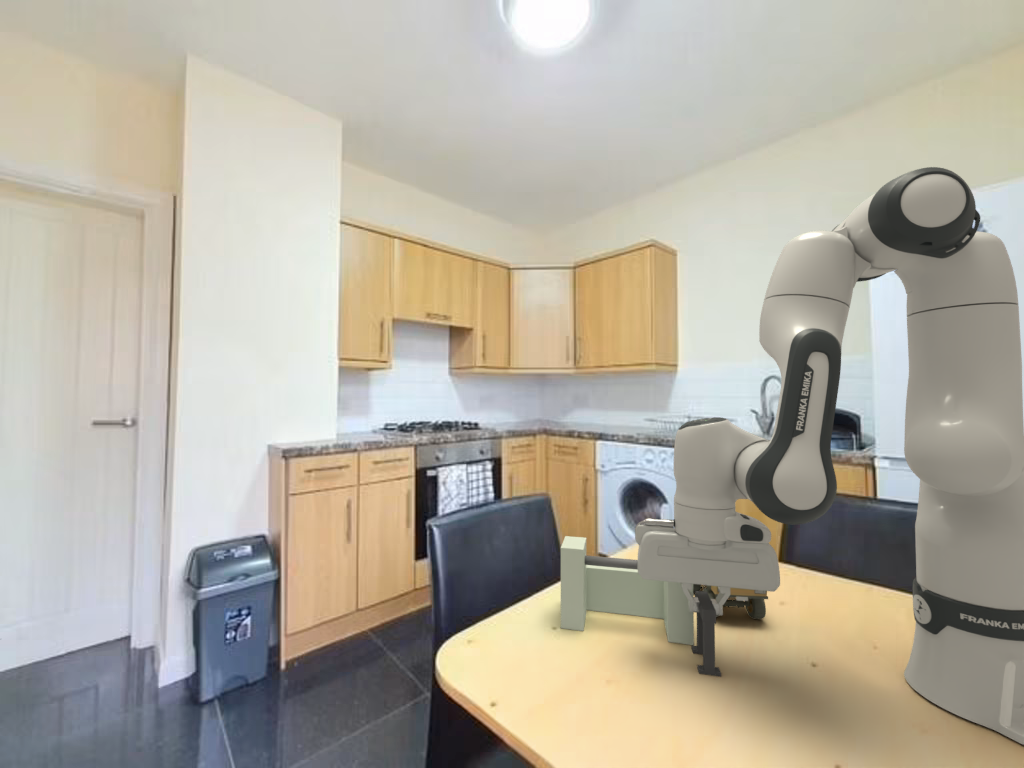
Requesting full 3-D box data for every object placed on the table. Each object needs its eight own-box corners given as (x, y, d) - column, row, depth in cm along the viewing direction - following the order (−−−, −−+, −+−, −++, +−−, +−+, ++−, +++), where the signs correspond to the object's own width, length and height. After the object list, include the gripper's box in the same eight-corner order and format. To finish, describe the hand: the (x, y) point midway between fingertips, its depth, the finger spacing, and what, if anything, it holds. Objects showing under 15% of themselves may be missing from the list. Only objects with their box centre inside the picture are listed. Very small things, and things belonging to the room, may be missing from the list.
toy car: (730, 585, 97) (729, 516, 97) (773, 630, 78) (771, 544, 78) (681, 583, 98) (681, 514, 98) (712, 626, 79) (711, 541, 79)
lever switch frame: (685, 616, 82) (684, 540, 83) (693, 645, 73) (692, 558, 73) (567, 602, 87) (567, 531, 88) (560, 628, 78) (560, 547, 78)
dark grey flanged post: (711, 650, 71) (711, 592, 71) (721, 676, 64) (720, 611, 65) (691, 648, 72) (691, 590, 72) (699, 673, 65) (698, 609, 65)
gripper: (635, 522, 68) (636, 613, 68) (783, 532, 63) (785, 630, 63) (634, 512, 74) (634, 596, 74) (768, 520, 69) (770, 610, 69)
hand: (705, 612), depth 68 cm, fingers closed on dark grey flanged post, 2 cm apart
